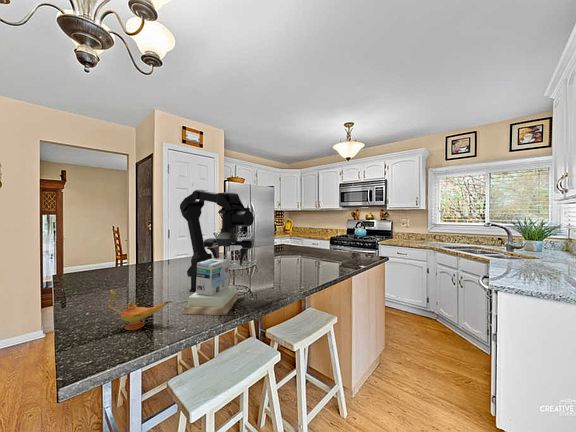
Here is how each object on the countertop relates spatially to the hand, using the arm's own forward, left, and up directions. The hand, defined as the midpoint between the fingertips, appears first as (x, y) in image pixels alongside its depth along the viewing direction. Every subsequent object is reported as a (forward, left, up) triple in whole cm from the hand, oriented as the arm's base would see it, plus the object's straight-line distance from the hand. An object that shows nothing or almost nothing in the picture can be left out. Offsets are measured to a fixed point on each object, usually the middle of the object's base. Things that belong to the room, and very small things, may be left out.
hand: (229, 265), depth 100 cm
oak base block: (-4, -8, -14) cm, 16 cm away
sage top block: (-4, -8, -11) cm, 14 cm away
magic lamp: (-20, -25, -13) cm, 34 cm away
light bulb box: (-4, -7, -8) cm, 12 cm away
